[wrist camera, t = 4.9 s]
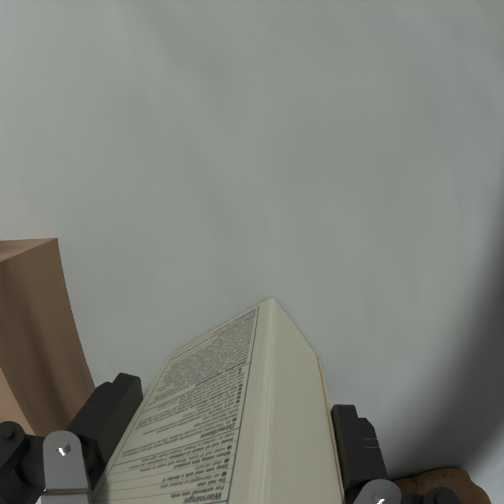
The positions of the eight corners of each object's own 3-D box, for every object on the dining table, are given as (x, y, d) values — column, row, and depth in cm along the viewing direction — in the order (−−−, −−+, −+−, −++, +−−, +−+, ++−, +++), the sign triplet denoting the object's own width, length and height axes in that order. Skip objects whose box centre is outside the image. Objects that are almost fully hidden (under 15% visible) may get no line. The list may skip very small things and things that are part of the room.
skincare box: (219, 412, 15) (164, 628, 3) (163, 352, 14) (38, 577, 2) (327, 361, 14) (366, 634, 2) (274, 286, 13) (243, 647, 1)
